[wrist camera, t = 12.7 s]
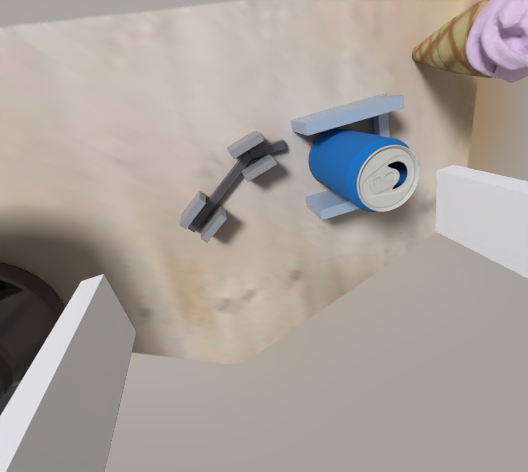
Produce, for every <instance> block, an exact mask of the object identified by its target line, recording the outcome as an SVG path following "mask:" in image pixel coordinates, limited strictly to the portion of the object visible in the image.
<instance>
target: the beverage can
mask: <svg viewBox="0 0 528 472" xmlns="http://www.w3.org/2000/svg"><path fill="white" fill-rule="evenodd" d="M309 168H310V171H311V173H312V175H313V176H314V178H315V179H316V180H317V181H319V182H320V183H322V184H323V185H325V186H326V187H328V188H330V189H331V190H333V191H334V192H336V193H337V194H339V195H340V196H342V197H343V198H345V199H346V200H348V201H349V202H351V203H352V204H354V205H355V206H357V207H358V208H360V209H362V210H365V211H370V212H378V211H379V212H385V211H390V210H393V209H396V208H397V207H399V206H401V205H402V204H404V203H405V202H406V201H407V200H408V199H409V198H410V197H411V195H412V194H413V192H414V191H415V189H416V187H417V184H418V182H419V177H420V165H419V161H418V158H417V157H416V155H415V154H414V153H413V151H411V150H410V148H409V147H408V146H407V145H406V144H405V143H403V142H402V141H400V140H398V139H395V138H390V137H384V136H379V135H373V134H368V133H362V132H357V131H351V130H346V129H332V130H329V131H327V132H325V133H323V134H322V135H320V136H319V137H318V138H317V139H316V141H315V142H314V144H313V145H312V147H311V150H310V153H309Z"/></svg>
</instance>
